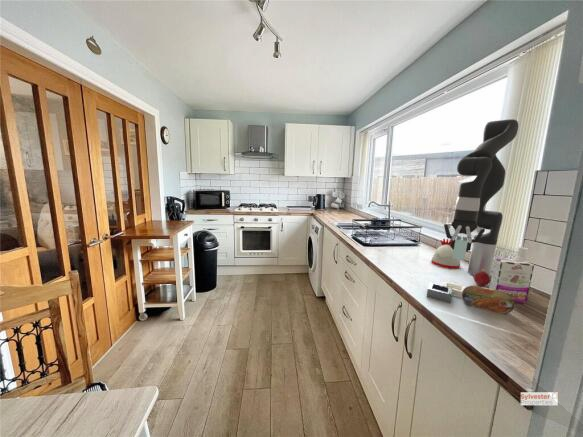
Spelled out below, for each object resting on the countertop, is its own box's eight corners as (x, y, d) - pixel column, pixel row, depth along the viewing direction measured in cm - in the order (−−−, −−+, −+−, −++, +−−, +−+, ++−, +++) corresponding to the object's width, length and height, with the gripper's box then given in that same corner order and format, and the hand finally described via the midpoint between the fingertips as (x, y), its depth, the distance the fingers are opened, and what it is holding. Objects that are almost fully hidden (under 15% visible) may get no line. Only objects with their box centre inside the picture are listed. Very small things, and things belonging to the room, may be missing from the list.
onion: (491, 290, 105) (494, 273, 103) (476, 288, 106) (480, 271, 104) (483, 284, 110) (486, 268, 109) (469, 282, 111) (472, 266, 110)
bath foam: (526, 292, 104) (536, 248, 100) (523, 296, 99) (534, 251, 96) (505, 286, 109) (514, 244, 106) (502, 290, 105) (511, 247, 101)
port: (428, 290, 101) (430, 281, 101) (450, 296, 97) (452, 286, 96) (426, 297, 95) (427, 287, 94) (449, 304, 90) (451, 294, 90)
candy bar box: (517, 298, 98) (526, 260, 95) (526, 304, 93) (535, 264, 91) (486, 294, 101) (494, 257, 98) (494, 299, 96) (501, 261, 93)
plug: (453, 255, 100) (456, 234, 98) (464, 258, 98) (468, 236, 96) (452, 258, 97) (456, 236, 95) (464, 260, 95) (468, 238, 93)
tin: (460, 305, 90) (464, 285, 89) (459, 301, 93) (463, 281, 92) (512, 317, 83) (517, 295, 82) (509, 313, 86) (514, 292, 85)
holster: (443, 287, 105) (444, 281, 104) (463, 292, 101) (464, 286, 100) (442, 293, 99) (443, 286, 99) (463, 299, 95) (464, 292, 95)
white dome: (438, 258, 145) (441, 235, 143) (463, 266, 134) (468, 240, 132) (426, 262, 137) (430, 237, 135) (453, 270, 126) (457, 243, 124)
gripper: (489, 210, 92) (481, 251, 95) (446, 206, 101) (440, 244, 104) (490, 211, 87) (482, 256, 90) (444, 207, 95) (438, 248, 98)
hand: (459, 249), depth 97 cm, fingers closed on plug, 4 cm apart
